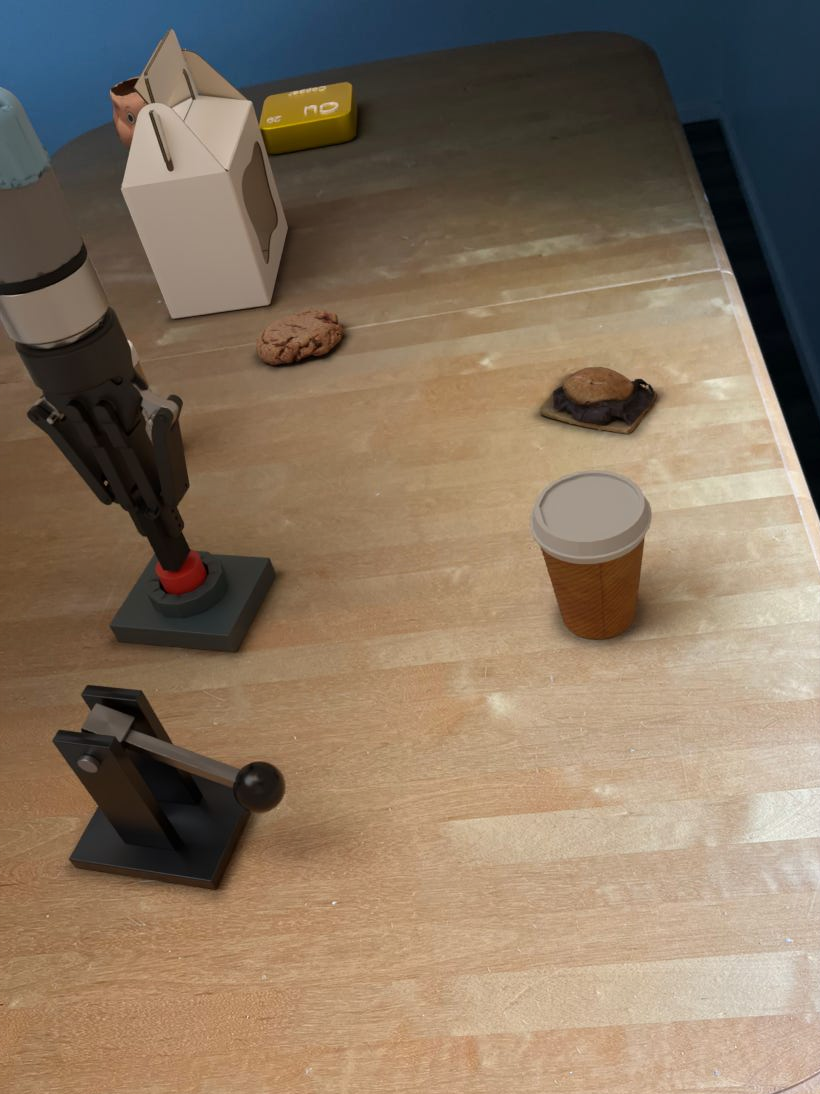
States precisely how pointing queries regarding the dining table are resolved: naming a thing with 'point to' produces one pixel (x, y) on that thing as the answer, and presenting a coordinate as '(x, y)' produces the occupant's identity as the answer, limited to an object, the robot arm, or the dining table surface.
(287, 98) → the element tile
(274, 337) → the cookie
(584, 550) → the disposable coffee cup
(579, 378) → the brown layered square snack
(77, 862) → the lever stand
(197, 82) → the gable box
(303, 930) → the dining table surface
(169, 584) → the button
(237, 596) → the control block
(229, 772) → the lever handle
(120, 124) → the decorative planter
